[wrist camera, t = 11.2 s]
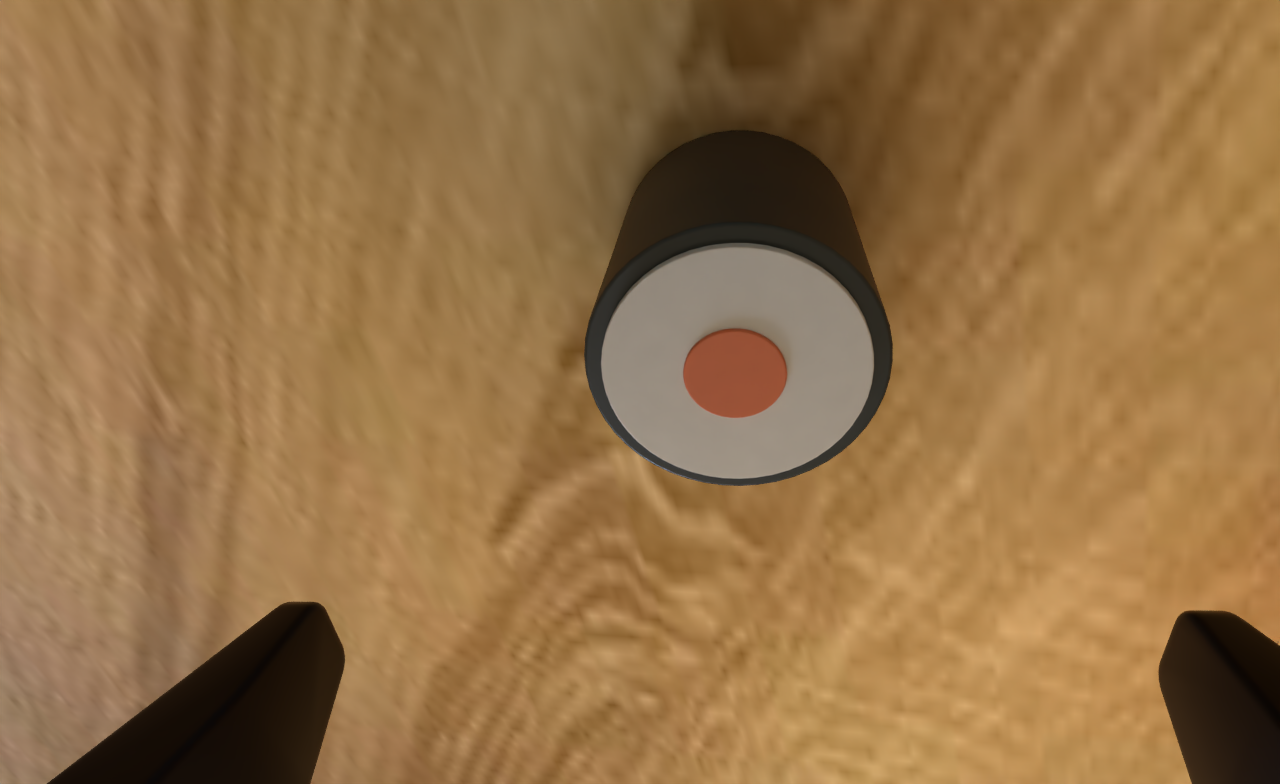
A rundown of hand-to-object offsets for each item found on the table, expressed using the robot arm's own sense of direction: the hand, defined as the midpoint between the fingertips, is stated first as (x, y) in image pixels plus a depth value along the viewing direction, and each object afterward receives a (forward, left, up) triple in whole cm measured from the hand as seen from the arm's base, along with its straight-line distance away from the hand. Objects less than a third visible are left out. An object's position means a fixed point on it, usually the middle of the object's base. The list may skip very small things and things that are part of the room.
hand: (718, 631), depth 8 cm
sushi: (0, 0, -10) cm, 10 cm away
